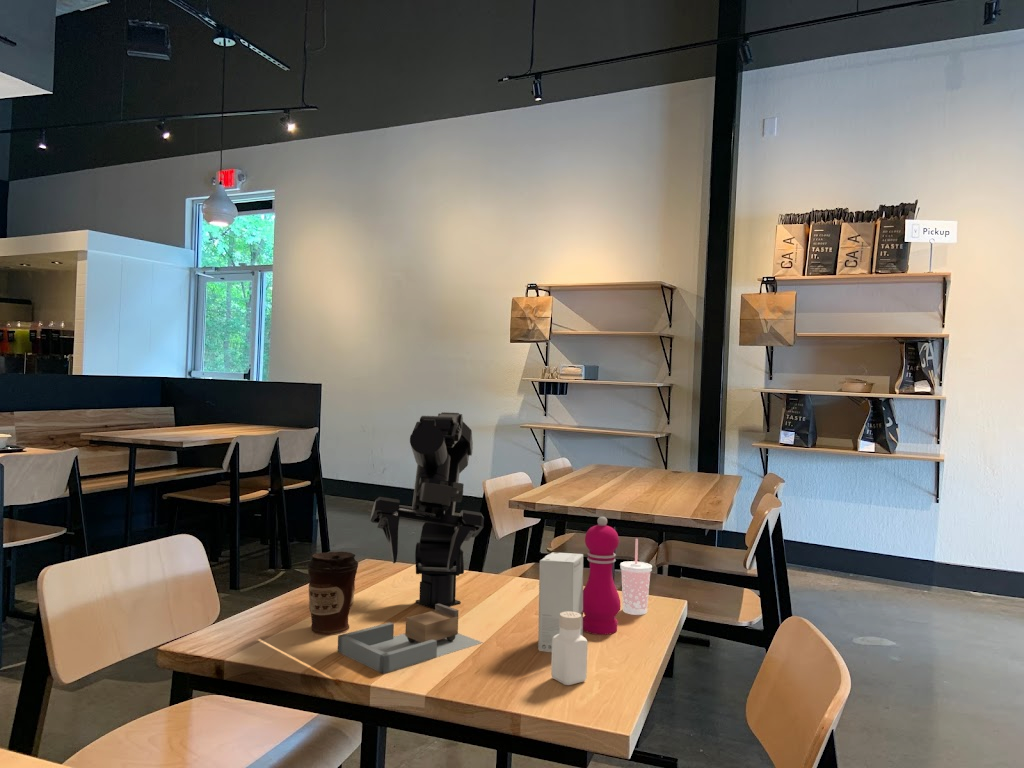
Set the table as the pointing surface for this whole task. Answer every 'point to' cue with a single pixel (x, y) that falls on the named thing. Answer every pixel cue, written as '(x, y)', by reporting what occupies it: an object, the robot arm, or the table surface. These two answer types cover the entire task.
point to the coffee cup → (331, 591)
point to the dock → (395, 648)
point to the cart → (433, 625)
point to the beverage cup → (635, 585)
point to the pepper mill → (601, 580)
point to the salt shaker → (569, 651)
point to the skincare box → (558, 593)
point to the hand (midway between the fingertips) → (422, 566)
